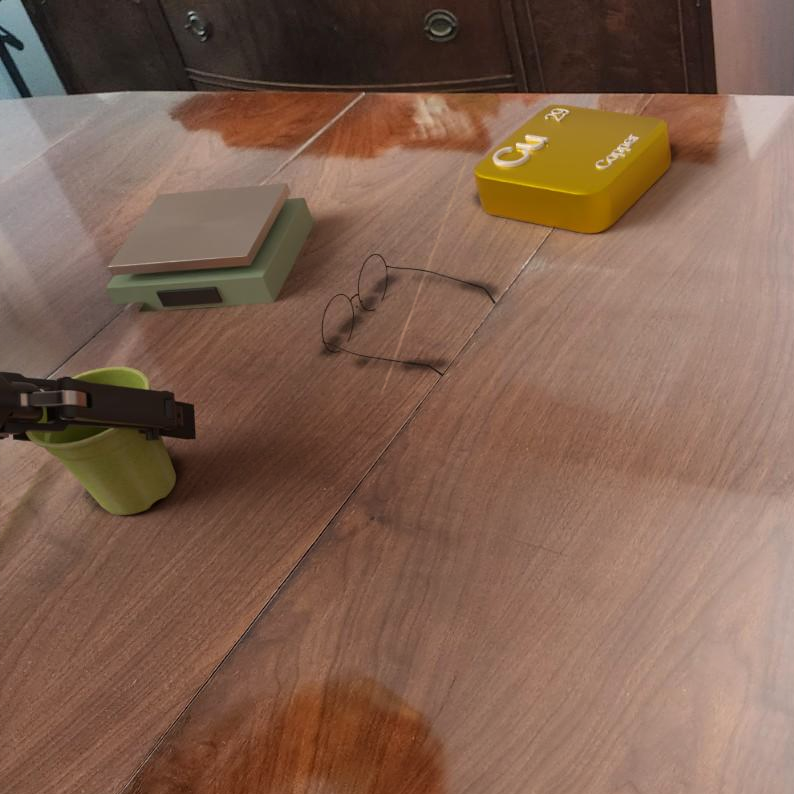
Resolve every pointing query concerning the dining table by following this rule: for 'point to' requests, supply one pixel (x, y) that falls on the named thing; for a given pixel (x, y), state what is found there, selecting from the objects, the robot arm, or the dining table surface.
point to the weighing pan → (201, 230)
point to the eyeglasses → (381, 300)
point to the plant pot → (113, 454)
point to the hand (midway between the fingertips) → (130, 425)
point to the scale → (224, 272)
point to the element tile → (574, 168)
